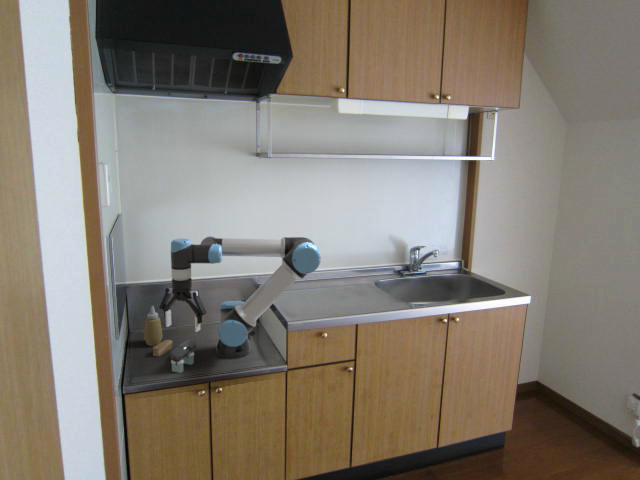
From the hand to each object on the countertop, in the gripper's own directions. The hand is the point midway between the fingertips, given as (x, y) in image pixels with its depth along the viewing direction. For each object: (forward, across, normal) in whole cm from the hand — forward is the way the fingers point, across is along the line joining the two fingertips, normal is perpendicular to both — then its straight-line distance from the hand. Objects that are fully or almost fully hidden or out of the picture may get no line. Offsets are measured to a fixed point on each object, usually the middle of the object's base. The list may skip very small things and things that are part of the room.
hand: (183, 328), depth 181 cm
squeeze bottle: (+17, +25, -14) cm, 34 cm away
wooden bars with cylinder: (+17, +12, -8) cm, 22 cm away
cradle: (+17, 0, 0) cm, 17 cm away
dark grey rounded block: (+12, 0, 0) cm, 12 cm away
